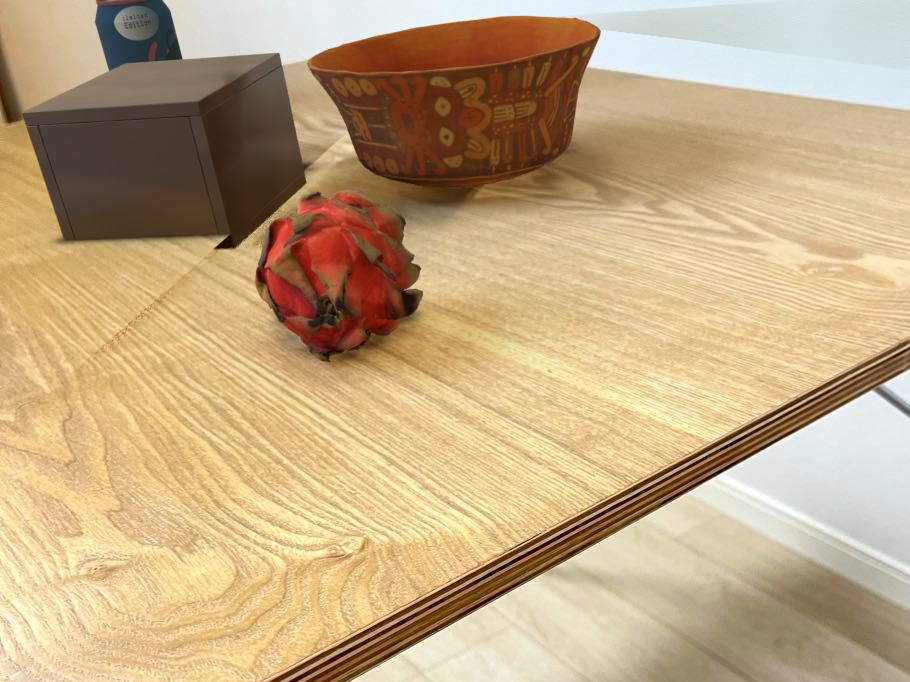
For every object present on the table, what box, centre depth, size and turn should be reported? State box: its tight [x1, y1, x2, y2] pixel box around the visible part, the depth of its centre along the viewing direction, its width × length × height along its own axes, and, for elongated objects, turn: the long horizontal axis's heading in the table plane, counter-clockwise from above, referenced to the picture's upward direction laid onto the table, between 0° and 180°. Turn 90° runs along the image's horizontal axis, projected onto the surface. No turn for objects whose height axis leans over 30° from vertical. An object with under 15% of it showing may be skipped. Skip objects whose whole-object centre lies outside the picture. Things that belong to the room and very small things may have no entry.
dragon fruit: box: [254, 189, 424, 363], centre depth 62 cm, size 8×8×12 cm
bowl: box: [306, 15, 602, 189], centre depth 85 cm, size 21×21×10 cm
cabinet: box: [21, 52, 308, 250], centre depth 84 cm, size 15×13×10 cm
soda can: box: [94, 0, 184, 71], centre depth 109 cm, size 7×7×12 cm
